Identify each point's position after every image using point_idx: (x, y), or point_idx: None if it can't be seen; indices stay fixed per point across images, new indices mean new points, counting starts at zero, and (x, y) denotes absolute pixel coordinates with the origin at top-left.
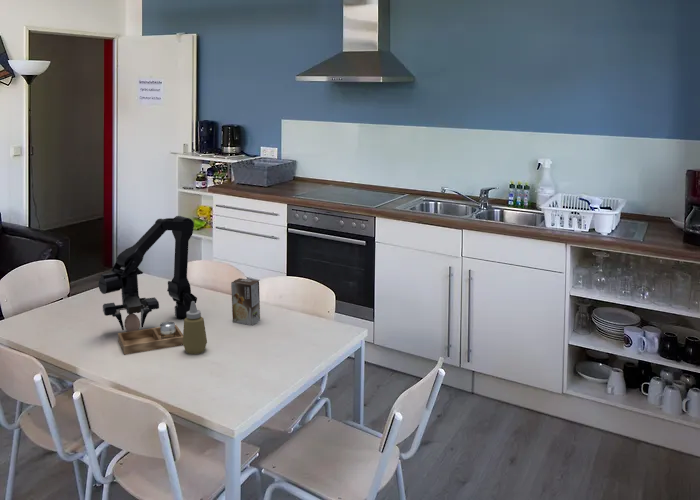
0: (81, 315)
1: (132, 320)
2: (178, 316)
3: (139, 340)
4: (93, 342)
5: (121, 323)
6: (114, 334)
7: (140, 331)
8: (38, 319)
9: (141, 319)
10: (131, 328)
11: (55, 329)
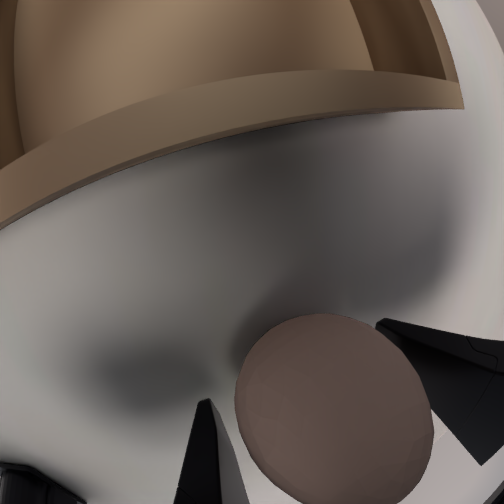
0: None
1: (378, 413)
2: (43, 490)
3: (191, 48)
4: (477, 176)
5: (447, 342)
6: (401, 300)
7: (181, 92)
8: None
9: (234, 481)
10: (331, 322)
11: (494, 328)
